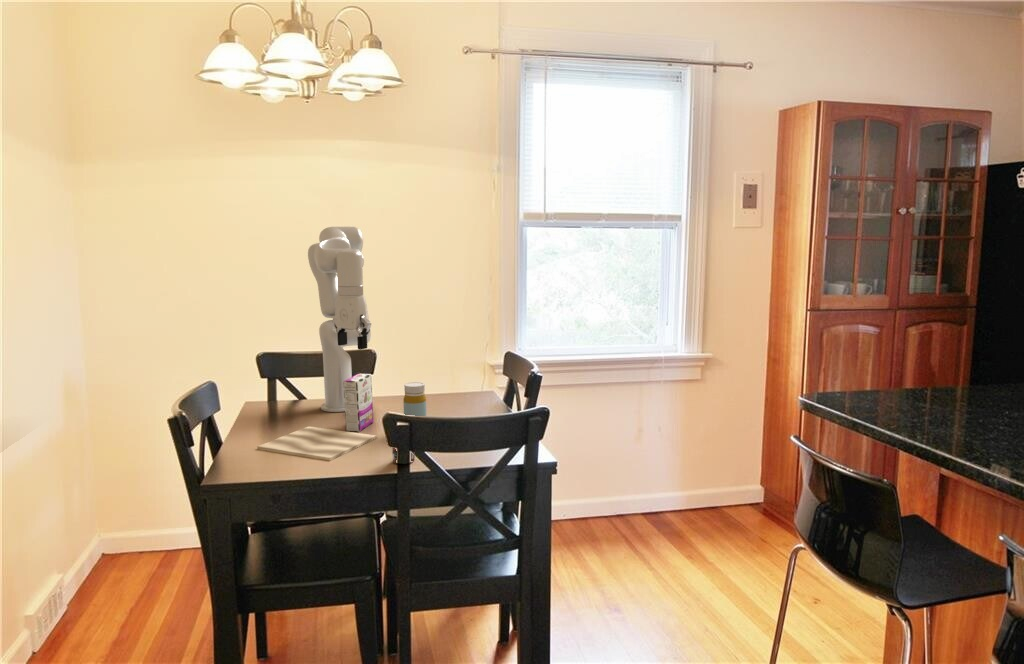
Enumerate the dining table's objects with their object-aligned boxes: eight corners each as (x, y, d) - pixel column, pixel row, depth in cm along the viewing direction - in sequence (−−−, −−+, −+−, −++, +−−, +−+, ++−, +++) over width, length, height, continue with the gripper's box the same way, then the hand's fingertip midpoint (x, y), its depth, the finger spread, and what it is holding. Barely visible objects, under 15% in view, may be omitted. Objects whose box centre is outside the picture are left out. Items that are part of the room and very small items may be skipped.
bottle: (428, 427, 215) (427, 381, 213) (425, 434, 208) (423, 386, 206) (406, 427, 216) (405, 381, 213) (402, 434, 209) (401, 386, 206)
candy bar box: (359, 421, 223) (357, 373, 220) (373, 422, 222) (372, 373, 219) (344, 431, 212) (342, 380, 209) (359, 432, 211) (357, 381, 208)
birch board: (308, 428, 215) (308, 426, 215) (376, 438, 205) (376, 435, 205) (257, 449, 195) (257, 446, 195) (330, 460, 185) (330, 457, 185)
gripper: (322, 290, 207) (325, 345, 210) (358, 294, 196) (360, 352, 199) (343, 288, 212) (345, 341, 215) (378, 292, 202) (380, 348, 205)
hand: (352, 346), depth 207 cm, fingers open, 9 cm apart
